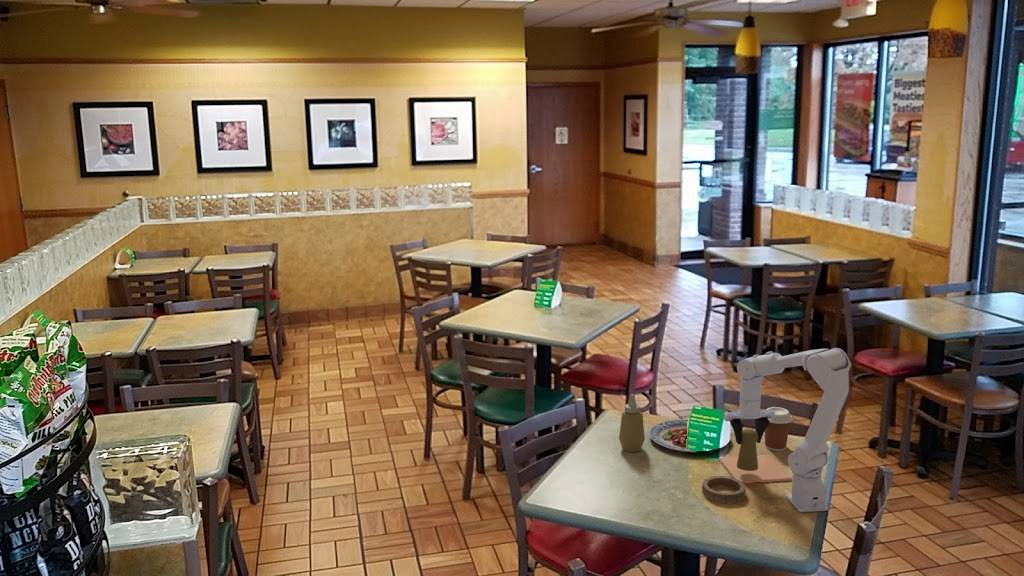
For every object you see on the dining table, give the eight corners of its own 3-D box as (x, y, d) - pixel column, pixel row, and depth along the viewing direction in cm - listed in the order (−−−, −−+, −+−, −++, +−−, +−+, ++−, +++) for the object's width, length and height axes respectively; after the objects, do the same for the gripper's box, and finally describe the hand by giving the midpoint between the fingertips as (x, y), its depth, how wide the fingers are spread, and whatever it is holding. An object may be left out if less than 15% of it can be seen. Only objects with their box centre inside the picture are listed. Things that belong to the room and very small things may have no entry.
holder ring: (751, 501, 224) (751, 493, 223) (710, 504, 223) (710, 496, 222) (735, 482, 235) (736, 474, 235) (697, 485, 234) (697, 477, 233)
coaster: (791, 480, 236) (791, 477, 236) (737, 483, 234) (737, 481, 234) (769, 457, 251) (769, 454, 251) (718, 460, 250) (718, 457, 250)
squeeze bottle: (613, 446, 261) (614, 393, 257) (635, 441, 265) (636, 388, 261) (627, 456, 254) (628, 401, 250) (649, 451, 257) (650, 396, 253)
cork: (756, 463, 240) (758, 427, 239) (759, 471, 234) (761, 434, 233) (735, 462, 241) (737, 426, 239) (738, 470, 235) (739, 433, 233)
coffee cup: (755, 441, 263) (757, 406, 260) (783, 440, 264) (785, 404, 261) (767, 453, 254) (769, 417, 251) (795, 451, 255) (798, 415, 252)
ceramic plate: (740, 434, 270) (740, 425, 269) (716, 464, 248) (717, 455, 247) (665, 420, 282) (665, 412, 282) (636, 447, 261) (637, 439, 260)
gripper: (768, 391, 239) (766, 435, 242) (720, 394, 237) (718, 438, 240) (779, 400, 232) (776, 445, 235) (729, 403, 230) (727, 448, 233)
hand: (748, 442), depth 237 cm, fingers closed on cork, 5 cm apart
